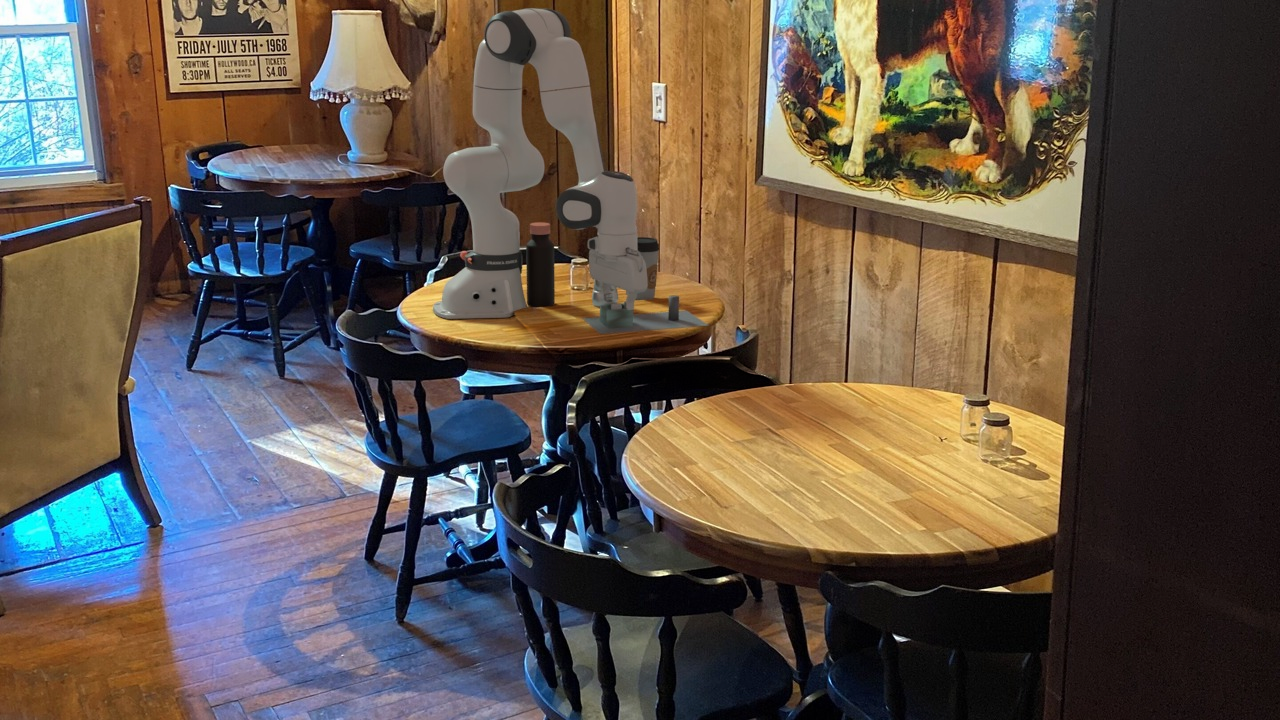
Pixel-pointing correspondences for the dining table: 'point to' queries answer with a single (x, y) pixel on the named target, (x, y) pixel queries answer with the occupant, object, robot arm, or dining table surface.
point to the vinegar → (540, 266)
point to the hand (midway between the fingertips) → (618, 305)
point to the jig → (652, 320)
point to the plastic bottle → (598, 295)
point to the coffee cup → (648, 264)
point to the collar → (615, 316)
